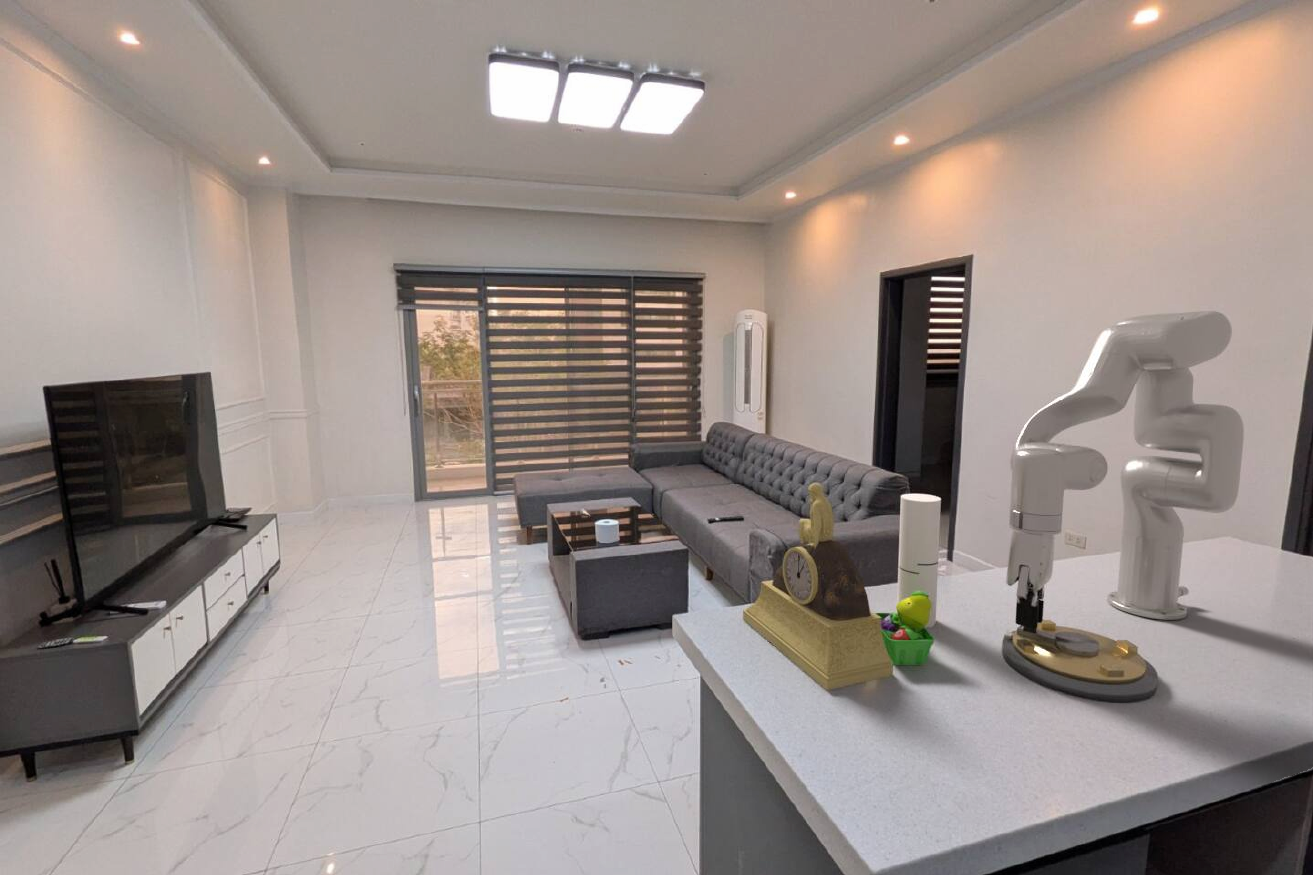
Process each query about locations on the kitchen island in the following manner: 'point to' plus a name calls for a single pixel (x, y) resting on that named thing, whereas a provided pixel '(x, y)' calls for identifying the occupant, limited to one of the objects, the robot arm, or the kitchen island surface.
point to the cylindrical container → (919, 548)
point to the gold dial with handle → (1079, 653)
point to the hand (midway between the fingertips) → (1028, 622)
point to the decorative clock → (821, 607)
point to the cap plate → (1078, 687)
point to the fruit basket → (908, 630)
